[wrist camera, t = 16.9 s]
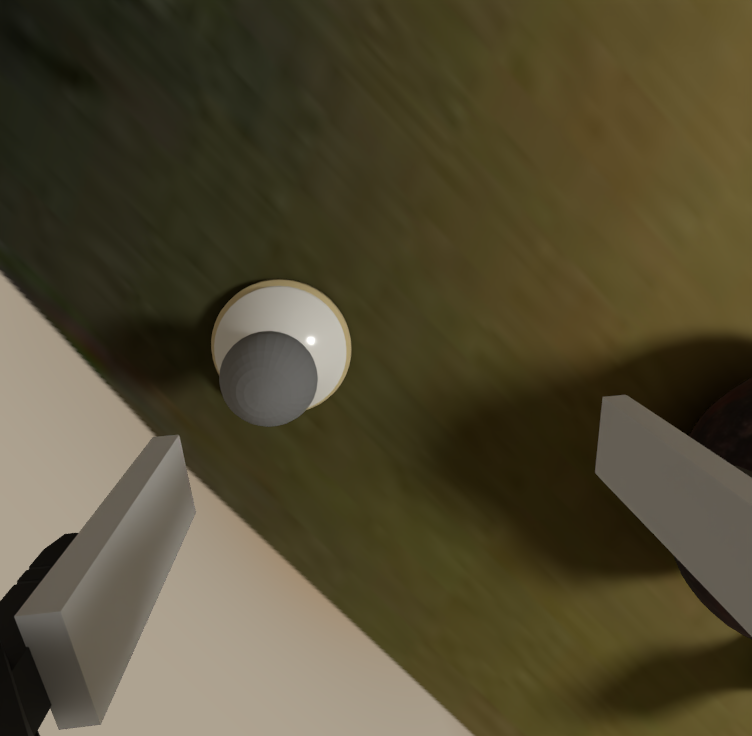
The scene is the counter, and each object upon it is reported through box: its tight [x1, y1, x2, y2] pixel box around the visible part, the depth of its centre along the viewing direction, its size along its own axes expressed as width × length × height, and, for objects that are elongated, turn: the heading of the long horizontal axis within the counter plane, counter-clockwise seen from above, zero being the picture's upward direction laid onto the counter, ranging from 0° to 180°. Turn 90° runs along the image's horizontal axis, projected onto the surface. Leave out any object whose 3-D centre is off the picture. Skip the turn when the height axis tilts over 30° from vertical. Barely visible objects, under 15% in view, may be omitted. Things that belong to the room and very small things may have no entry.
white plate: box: [211, 279, 351, 410], centre depth 38 cm, size 11×11×2 cm
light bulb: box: [219, 331, 318, 427], centre depth 32 cm, size 6×6×10 cm
